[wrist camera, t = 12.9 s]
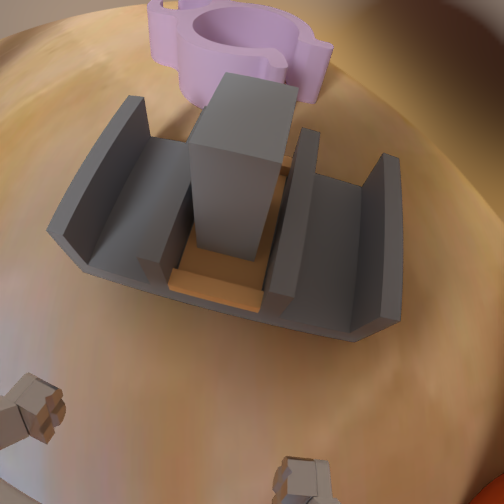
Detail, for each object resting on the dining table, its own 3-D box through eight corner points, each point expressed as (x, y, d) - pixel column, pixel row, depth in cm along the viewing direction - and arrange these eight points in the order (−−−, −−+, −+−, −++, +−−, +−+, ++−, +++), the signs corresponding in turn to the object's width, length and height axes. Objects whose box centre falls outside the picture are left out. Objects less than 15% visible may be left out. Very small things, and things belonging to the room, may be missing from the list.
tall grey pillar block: (197, 247, 20) (188, 142, 11) (219, 182, 22) (225, 72, 14) (254, 261, 20) (282, 163, 11) (270, 194, 22) (299, 87, 14)
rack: (82, 271, 20) (46, 230, 15) (140, 150, 25) (128, 95, 19) (354, 342, 20) (400, 321, 15) (366, 205, 25) (399, 158, 19)
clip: (125, 61, 31) (118, 11, 25) (206, 27, 35) (208, -16, 29) (248, 145, 26) (259, 80, 20) (330, 94, 31) (349, 42, 25)
